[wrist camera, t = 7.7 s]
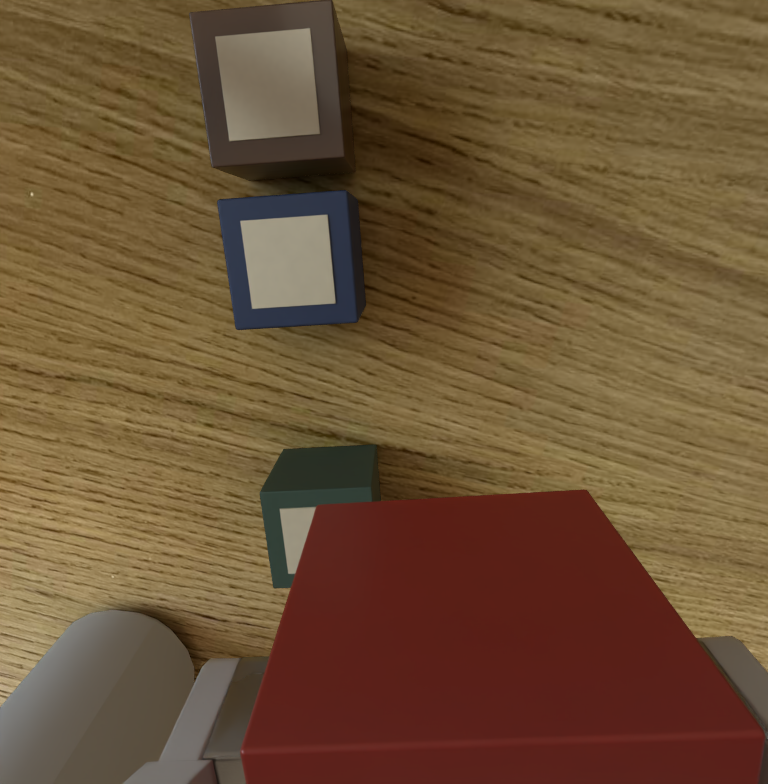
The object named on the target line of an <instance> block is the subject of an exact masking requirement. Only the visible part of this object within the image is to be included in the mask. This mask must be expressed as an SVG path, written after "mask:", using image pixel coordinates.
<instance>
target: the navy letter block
mask: <svg viewBox="0 0 768 784" xmlns="http://www.w3.org/2000/svg"><path fill="white" fill-rule="evenodd" d="M217 204H218V211H219V218H220V225H221V231H222V238H223V245H224V252H225V259H226V266H227V272H228V279H229V286H230V293H231V300H232V306H233V313H234V320H235V327H236V329H237V330H246V329H263V328H279V327H295V326H311V325H327V324H343V323H356V322H358V320H359V318H360V316H361V314H362V312H363V310H364V308H365V306H366V300H365V287H364V273H363V260H362V247H361V234H360V221H359V208H358V200H357V199H356V198H355V197H354V196H353V195H352V194H350V193H349V192H348V191H346V190H339V191H326V192H312V193H299V194H285V195H272V196H258V197H245V198H231V199H219V200H218V201H217Z"/></svg>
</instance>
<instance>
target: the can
mask: <svg viewBox="0 0 768 784" xmlns="http://www.w3.org/2000/svg"><path fill="white" fill-rule="evenodd" d="M193 685H194V666H193V663H192V660H191V658H190V655H189V652H188V650H187V649H186V647H185V646H184V645H183V644H182V642H181V641H180V640H179V639H178V637H177V636H176V635H175V634H174V633H173V631H172V630H171V629H170V628H168V627H167V626H165V625H164V624H163V623H161V622H160V621H158V620H157V619H155V618H152V617H149V616H147V615H144V614H141V613H135V612H128V611H119V610H107V611H101V612H94V613H90V614H88V615H86V616H84V617H82V618H80V619H78V620H76V621H74V622H73V623H72V624H71V625H70V626H69V627H68V628H67V629H66V630H65V632H64V633H63V634H62V635H61V636H60V637H59V638H58V640H57V641H56V642H55V643H54V644H53V646H52V647H51V648H50V649H49V650H48V651H47V653H46V654H45V655H44V656H43V657H42V659H41V660H40V661H39V662H38V663H37V664H36V666H35V667H34V668H33V669H32V670H31V671H30V673H29V674H28V675H27V676H26V677H25V679H24V680H23V681H22V682H21V683H20V684H19V686H18V687H17V688H16V689H15V690H14V692H13V693H12V694H11V695H10V696H9V697H8V699H7V700H6V701H5V702H4V703H3V705H2V706H1V707H0V784H122V783H123V782H125V781H126V780H127V779H128V778H129V777H130V776H131V775H133V774H134V773H135V772H136V771H137V770H138V769H140V768H141V767H142V766H143V765H144V764H145V763H146V762H153V761H159V759H160V756H161V754H162V752H163V750H164V748H165V746H166V744H167V741H168V739H169V737H170V735H171V733H172V731H173V728H174V726H175V724H176V722H177V720H178V718H179V716H180V713H181V711H182V709H183V707H184V705H185V703H186V700H187V698H188V696H189V694H190V692H191V690H192V688H193Z"/></svg>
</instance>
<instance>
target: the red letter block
mask: <svg viewBox="0 0 768 784" xmlns="http://www.w3.org/2000/svg"><path fill="white" fill-rule="evenodd" d="M765 741H766V736H765V733H764V730H763V729H762V727H761V726H760V725H759V723H758V722H757V720H756V719H755V718H754V716H753V715H752V714H751V712H750V711H749V710H748V708H747V707H746V705H745V704H744V703H743V701H742V700H741V699H740V697H739V696H738V695H737V693H736V692H735V691H734V689H733V688H732V686H731V685H730V684H729V682H728V681H727V680H726V678H725V677H724V676H723V674H722V673H721V672H720V670H719V669H718V667H717V666H716V665H715V663H714V662H713V661H712V659H711V658H710V657H709V655H708V654H707V653H706V651H705V650H704V648H703V647H702V646H701V644H700V643H699V642H698V640H697V639H696V638H695V636H694V635H693V634H692V632H691V631H690V629H689V628H688V627H687V625H686V624H685V623H684V621H683V620H682V619H681V617H680V616H679V615H678V613H677V612H676V610H675V609H674V608H673V606H672V605H671V604H670V602H669V601H668V600H667V598H666V597H665V595H664V594H663V593H662V591H661V590H660V589H659V587H658V586H657V585H656V583H655V582H654V581H653V579H652V578H651V576H650V575H649V574H648V572H647V571H646V570H645V568H644V567H643V566H642V564H641V563H640V562H639V560H638V559H637V557H636V556H635V555H634V553H633V552H632V551H631V549H630V548H629V547H628V545H627V544H626V543H625V541H624V540H623V538H622V537H621V536H620V534H619V533H618V532H617V530H616V529H615V528H614V526H613V525H612V524H611V522H610V521H609V519H608V518H607V517H606V515H605V514H604V513H603V511H602V510H601V509H600V507H599V506H598V505H597V503H596V502H595V500H594V499H593V498H592V496H591V495H590V494H589V492H588V491H587V490H569V491H551V492H533V493H516V494H498V495H480V496H463V497H445V498H427V499H410V500H392V501H374V502H356V503H339V504H321V505H317V506H316V509H315V512H314V515H313V519H312V522H311V525H310V528H309V531H308V535H307V538H306V541H305V544H304V547H303V551H302V554H301V557H300V560H299V563H298V567H297V570H296V573H295V576H294V579H293V583H292V586H291V589H290V592H289V595H288V599H287V602H286V605H285V608H284V611H283V615H282V618H281V621H280V624H279V627H278V631H277V634H276V637H275V640H274V643H273V647H272V650H271V653H270V656H269V659H268V663H267V666H266V669H265V672H264V675H263V679H262V682H261V685H260V688H259V691H258V695H257V698H256V701H255V704H254V707H253V711H252V714H251V717H250V720H249V723H248V727H247V730H246V733H245V736H244V739H243V743H242V746H241V749H240V755H241V760H242V765H243V770H244V775H245V780H246V784H759V779H760V773H761V766H762V760H763V753H764V747H765Z"/></svg>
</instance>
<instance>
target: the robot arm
mask: <svg viewBox="0 0 768 784" xmlns="http://www.w3.org/2000/svg"><path fill="white" fill-rule="evenodd" d="M696 639H697V640H698V642H699V643H700V644H701V646H702V647H703V648H704V650H705V651H706V653H707V654H708V655H709V657H710V658H711V659H712V661H713V662H714V663H715V665H716V666H717V667H718V669H719V670H720V672H721V673H722V674H723V676H724V677H725V678H726V680H727V681H728V682H729V684H730V685H731V686H732V688H733V689H734V691H735V692H736V693H737V695H738V696H739V697H740V699H741V700H742V701H743V703H744V704H745V705H746V707H747V708H748V710H749V711H750V712H751V714H752V715H753V716H754V718H755V719H756V720H757V722H758V723H759V725H760V726H761V727H762V729H763V730H764V733H765V736H766V741H765V747H764V753H763V760H762V766H761V773H760V779H759V784H768V672H767V671H766V670H765V669H764V668H763V666H762V665H761V664H760V663H759V662H758V661H757V659H756V658H755V657H754V656H753V655H752V654H751V652H750V651H749V650H748V649H747V648H746V647H745V645H744V644H743V643H742V642H741V641H740V640H738V639H736V638H735V637H733V636H722V637H706V638H696ZM268 659H269V657H243V658H210V659H209V660H208V661H207V662H206V663H205V664H204V665H203V666H202V668H201V670H200V672H199V675H198V677H197V679H196V681H195V683H194V685H193V688H192V690H191V692H190V694H189V696H188V698H187V700H186V703H185V705H184V707H183V709H182V711H181V713H180V716H179V718H178V720H177V722H176V724H175V726H174V728H173V731H172V733H171V735H170V737H169V739H168V741H167V744H166V746H165V748H164V750H163V752H162V754H161V756H160V759H159V761H153V762H146V763H145V764H144V765H143V766H142V767H141V768H140V769H138V770H137V771H136V772H135V773H134V774H133V775H131V776H130V777H129V778H128V779H127V780H126V781H125V782H123V783H122V784H246V780H245V775H244V770H243V765H242V760H241V755H240V749H241V746H242V743H243V739H244V736H245V733H246V730H247V727H248V723H249V720H250V717H251V714H252V711H253V707H254V704H255V701H256V698H257V695H258V691H259V688H260V685H261V682H262V679H263V675H264V672H265V669H266V666H267V663H268Z"/></svg>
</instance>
